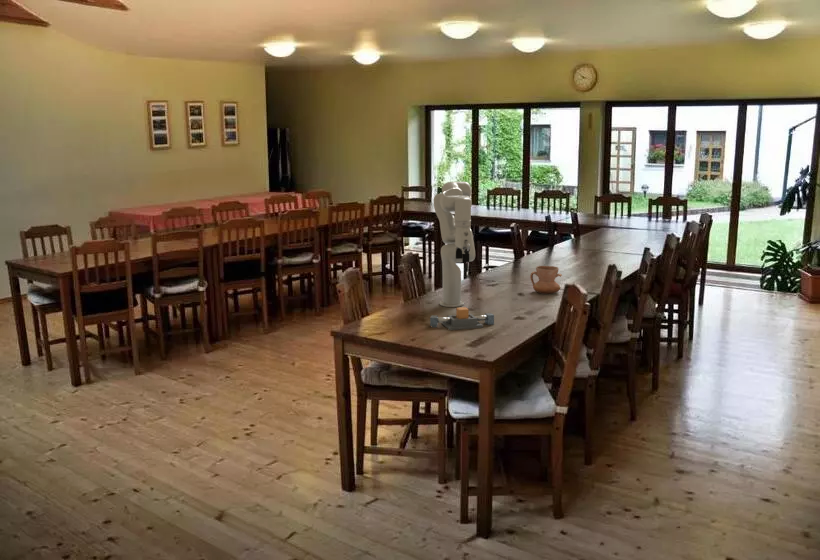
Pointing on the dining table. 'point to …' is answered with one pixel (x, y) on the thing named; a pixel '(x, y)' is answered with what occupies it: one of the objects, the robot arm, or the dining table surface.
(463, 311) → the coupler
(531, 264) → the dining table surface
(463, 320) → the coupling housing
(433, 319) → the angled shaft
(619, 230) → the dining table surface
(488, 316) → the straight shaft
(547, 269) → the ceramic jug
